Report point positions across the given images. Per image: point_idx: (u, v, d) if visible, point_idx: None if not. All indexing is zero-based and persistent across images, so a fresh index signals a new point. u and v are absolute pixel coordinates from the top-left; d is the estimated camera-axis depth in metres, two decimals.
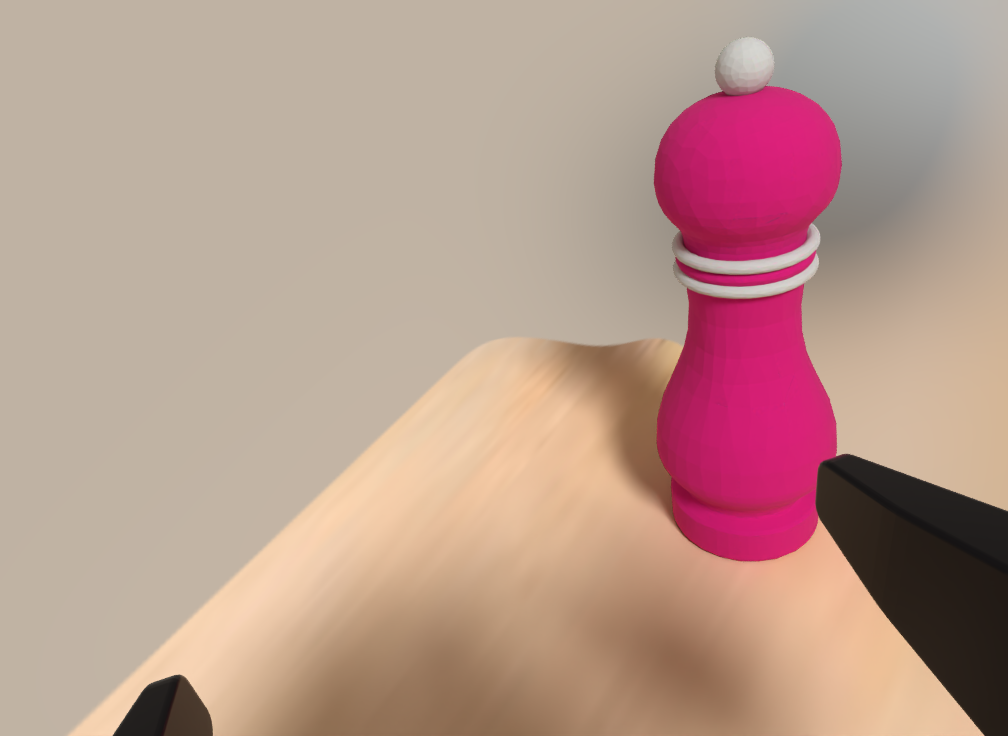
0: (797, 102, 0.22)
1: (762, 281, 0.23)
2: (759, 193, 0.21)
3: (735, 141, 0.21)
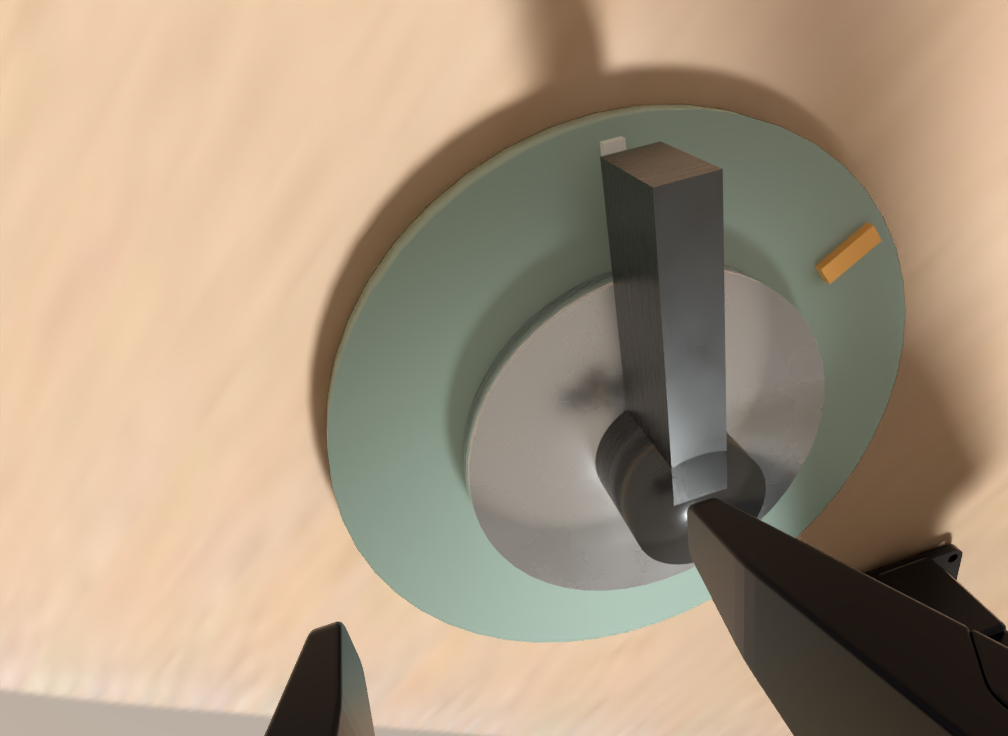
0: None
1: None
2: None
3: None
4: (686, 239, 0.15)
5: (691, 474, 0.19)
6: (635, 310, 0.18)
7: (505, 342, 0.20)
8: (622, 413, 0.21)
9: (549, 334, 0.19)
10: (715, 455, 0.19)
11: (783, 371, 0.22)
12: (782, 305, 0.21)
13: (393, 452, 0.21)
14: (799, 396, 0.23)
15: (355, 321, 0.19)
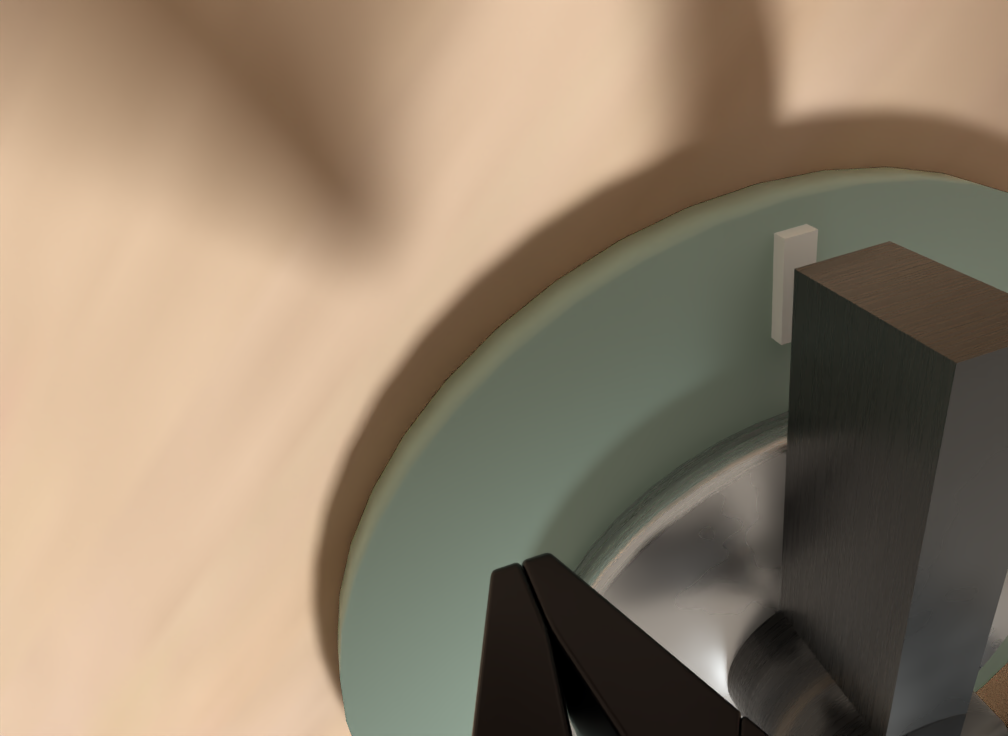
0: None
1: None
2: None
3: None
4: (988, 440, 0.09)
5: None
6: (839, 510, 0.11)
7: (606, 519, 0.14)
8: (774, 614, 0.14)
9: (684, 525, 0.12)
10: (949, 721, 0.12)
11: None
12: None
13: (436, 670, 0.14)
14: None
15: (384, 506, 0.12)
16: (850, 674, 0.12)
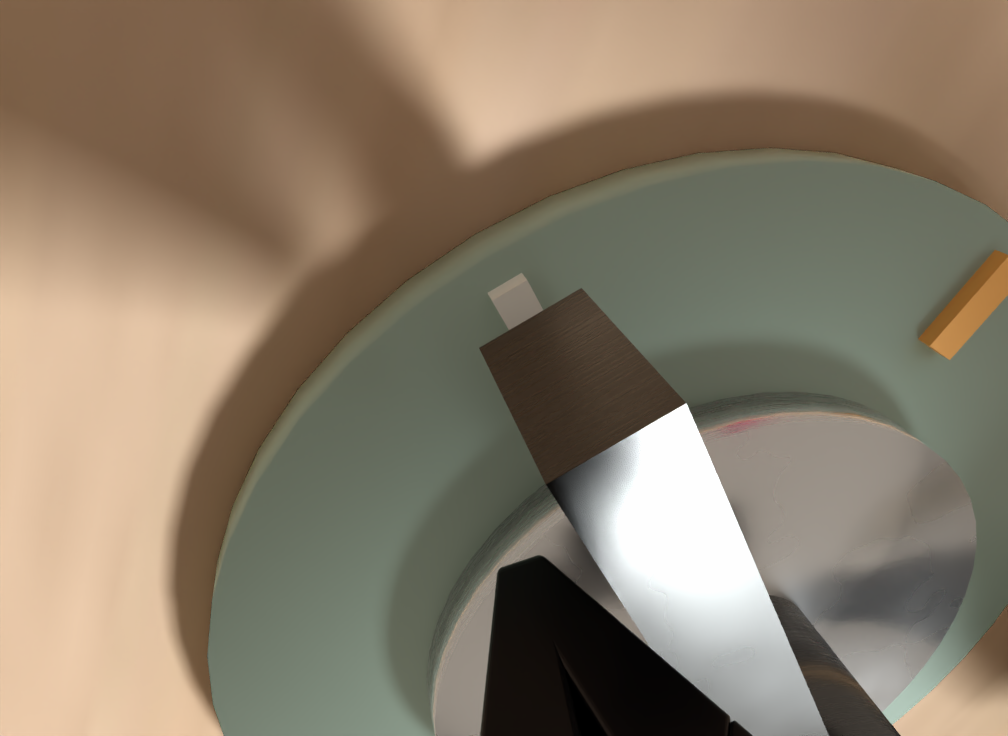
0: None
1: None
2: None
3: None
4: (652, 530, 0.08)
5: None
6: None
7: (447, 591, 0.13)
8: None
9: None
10: None
11: (900, 515, 0.14)
12: (875, 437, 0.12)
13: None
14: (934, 536, 0.14)
15: (209, 636, 0.13)
16: None
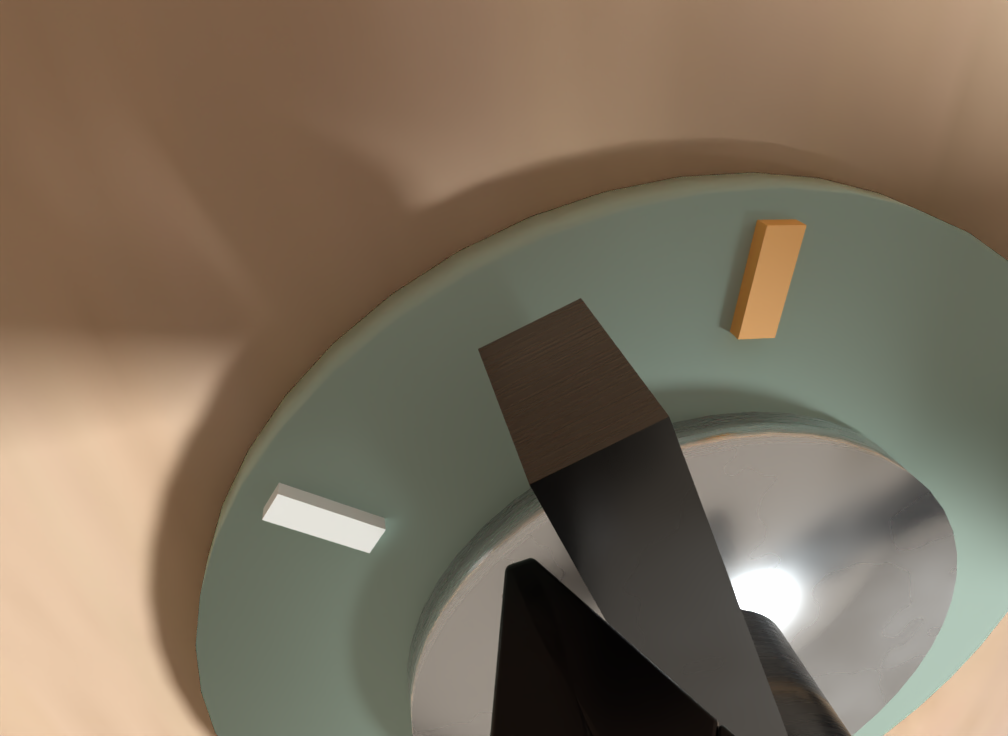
0: None
1: None
2: None
3: None
4: (630, 537, 0.08)
5: None
6: None
7: None
8: None
9: (481, 593, 0.12)
10: None
11: (882, 541, 0.14)
12: (861, 462, 0.13)
13: None
14: (915, 564, 0.14)
15: None
16: None
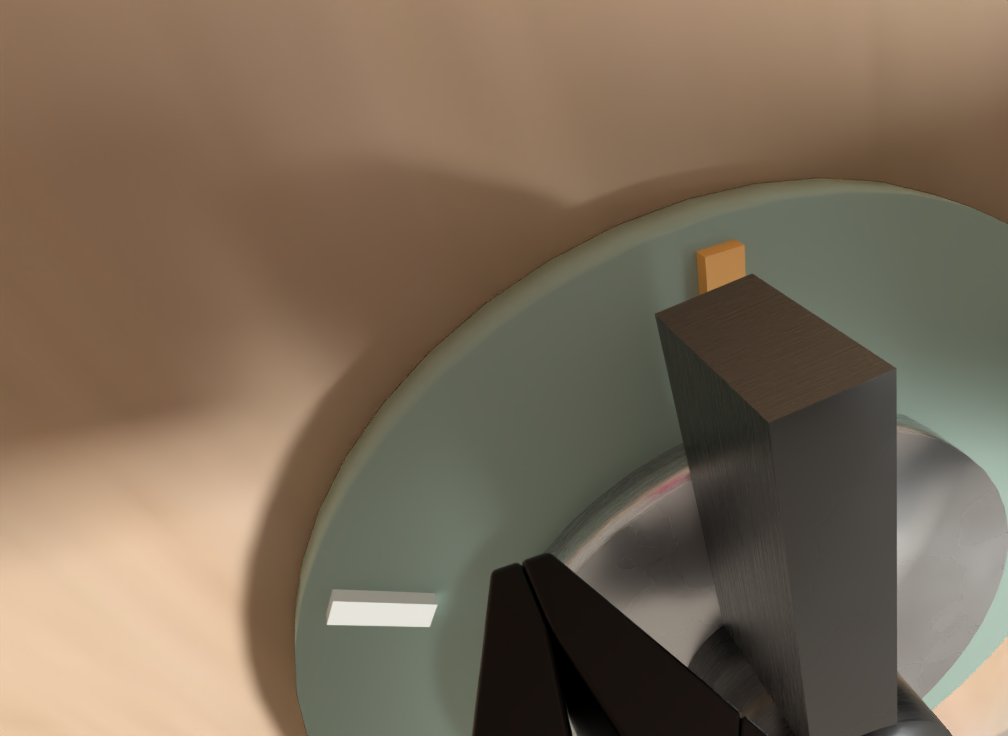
0: None
1: None
2: None
3: None
4: (832, 484, 0.09)
5: None
6: (734, 541, 0.11)
7: None
8: (718, 629, 0.14)
9: (600, 560, 0.13)
10: (880, 733, 0.12)
11: (949, 535, 0.15)
12: (947, 456, 0.14)
13: None
14: (971, 560, 0.16)
15: None
16: (778, 692, 0.12)
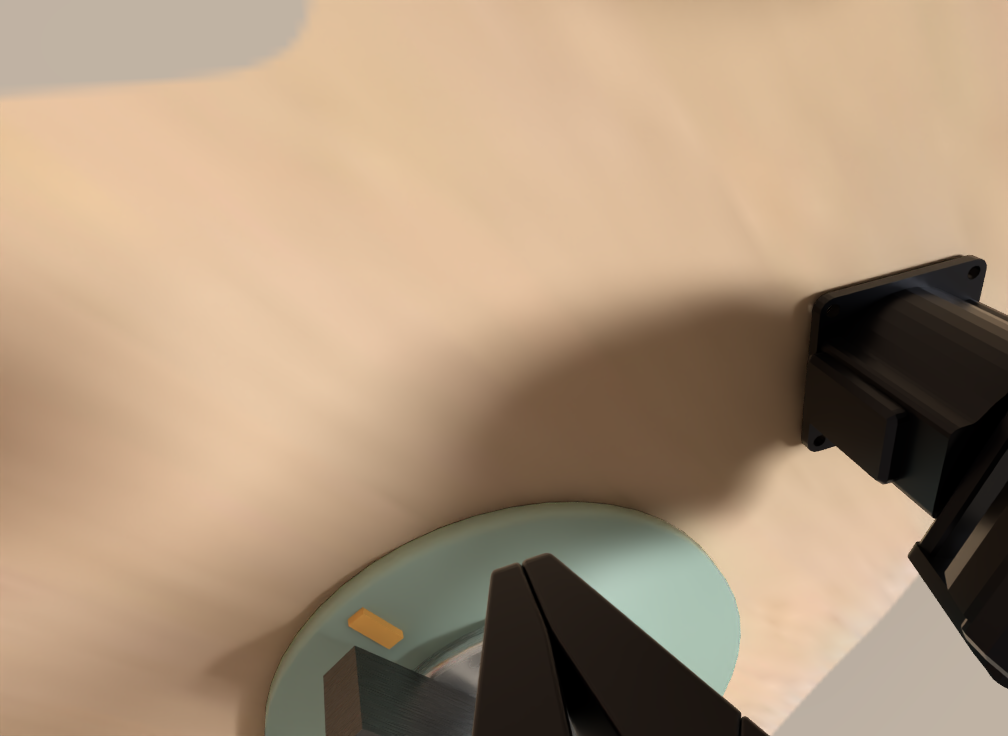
0: None
1: None
2: None
3: None
4: None
5: None
6: None
7: None
8: None
9: None
10: None
11: None
12: None
13: None
14: None
15: None
16: None
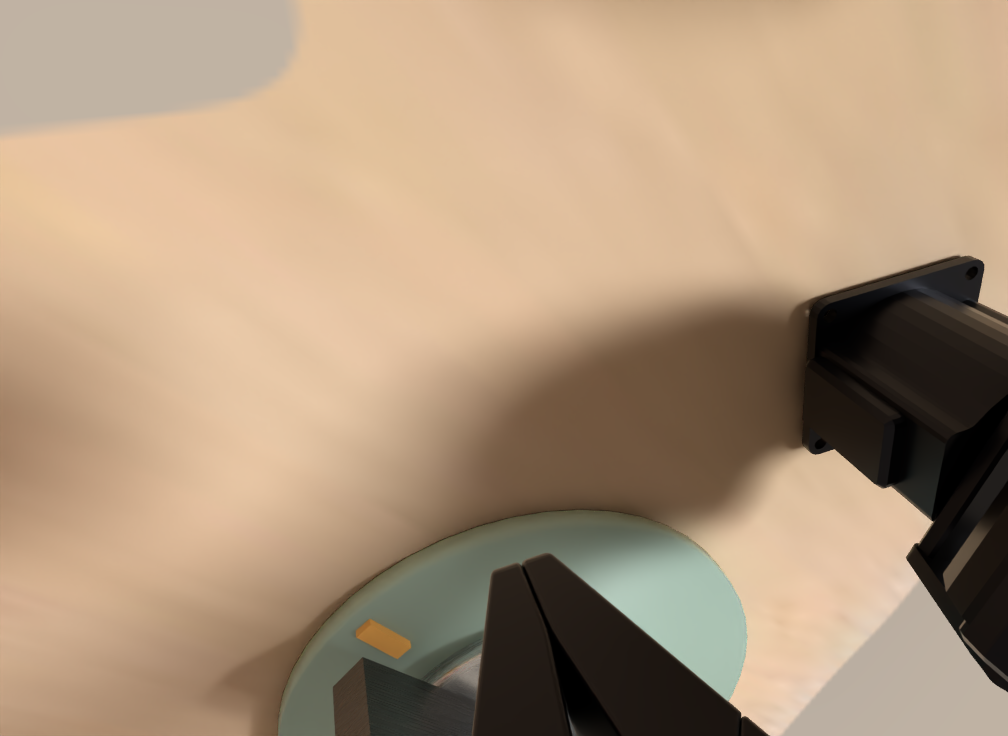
0: None
1: None
2: None
3: None
4: None
5: None
6: None
7: None
8: None
9: None
10: None
11: None
12: None
13: None
14: None
15: None
16: None
